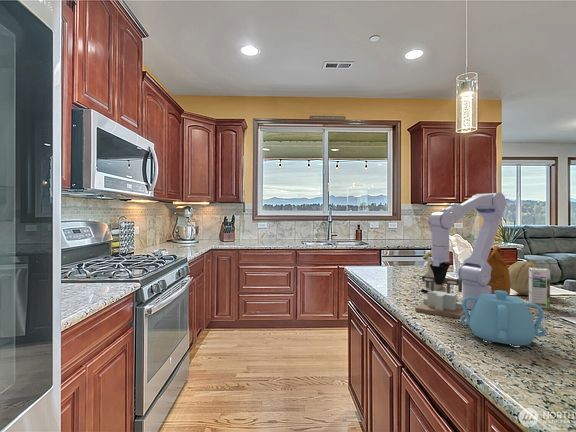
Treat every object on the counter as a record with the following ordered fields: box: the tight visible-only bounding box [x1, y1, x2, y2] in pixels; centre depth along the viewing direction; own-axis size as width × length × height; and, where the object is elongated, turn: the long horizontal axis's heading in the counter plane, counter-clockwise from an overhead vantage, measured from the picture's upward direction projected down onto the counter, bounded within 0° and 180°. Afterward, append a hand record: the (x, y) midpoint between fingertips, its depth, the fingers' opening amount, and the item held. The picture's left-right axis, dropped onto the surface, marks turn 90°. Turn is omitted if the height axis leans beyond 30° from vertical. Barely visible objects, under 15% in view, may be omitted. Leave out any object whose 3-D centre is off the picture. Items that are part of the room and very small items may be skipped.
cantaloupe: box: [508, 260, 542, 296], centre depth 143 cm, size 15×15×15 cm
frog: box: [419, 251, 453, 293], centre depth 148 cm, size 12×13×18 cm
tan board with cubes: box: [414, 290, 465, 319], centre depth 118 cm, size 12×15×6 cm
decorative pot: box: [459, 290, 547, 347], centre depth 92 cm, size 16×16×14 cm
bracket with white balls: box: [421, 274, 463, 293], centre depth 118 cm, size 8×12×5 cm, turn 54°
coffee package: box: [486, 245, 511, 296], centre depth 133 cm, size 10×12×22 cm
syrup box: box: [528, 267, 551, 309], centre depth 125 cm, size 6×6×14 cm
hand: (439, 284), depth 116 cm, fingers closed on bracket with white balls, 2 cm apart
